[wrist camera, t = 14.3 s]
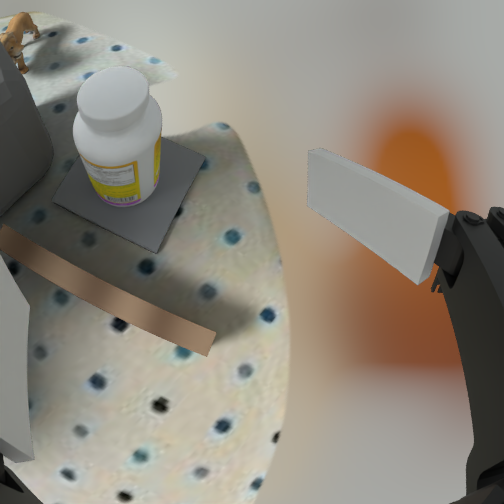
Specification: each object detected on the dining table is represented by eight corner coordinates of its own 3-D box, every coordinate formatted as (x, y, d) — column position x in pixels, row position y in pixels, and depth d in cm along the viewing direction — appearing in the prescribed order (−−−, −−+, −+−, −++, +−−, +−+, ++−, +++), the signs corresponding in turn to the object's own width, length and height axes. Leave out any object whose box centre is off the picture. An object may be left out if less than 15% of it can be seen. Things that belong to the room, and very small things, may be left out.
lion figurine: (35, 87, 27) (18, 37, 18) (-1, 101, 25) (-23, 56, 16) (41, 27, 28) (34, -16, 20) (12, 39, 26) (0, -2, 18)
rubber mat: (53, 202, 25) (51, 200, 25) (109, 118, 29) (108, 114, 28) (156, 253, 27) (156, 252, 27) (204, 159, 31) (205, 156, 30)
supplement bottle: (132, 137, 28) (129, 43, 16) (173, 180, 29) (187, 93, 17) (80, 176, 26) (46, 92, 14) (119, 224, 26) (95, 153, 14)
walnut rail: (16, 257, 23) (-7, 244, 18) (24, 238, 24) (3, 223, 19) (198, 350, 27) (206, 356, 22) (206, 330, 27) (216, 332, 23)
